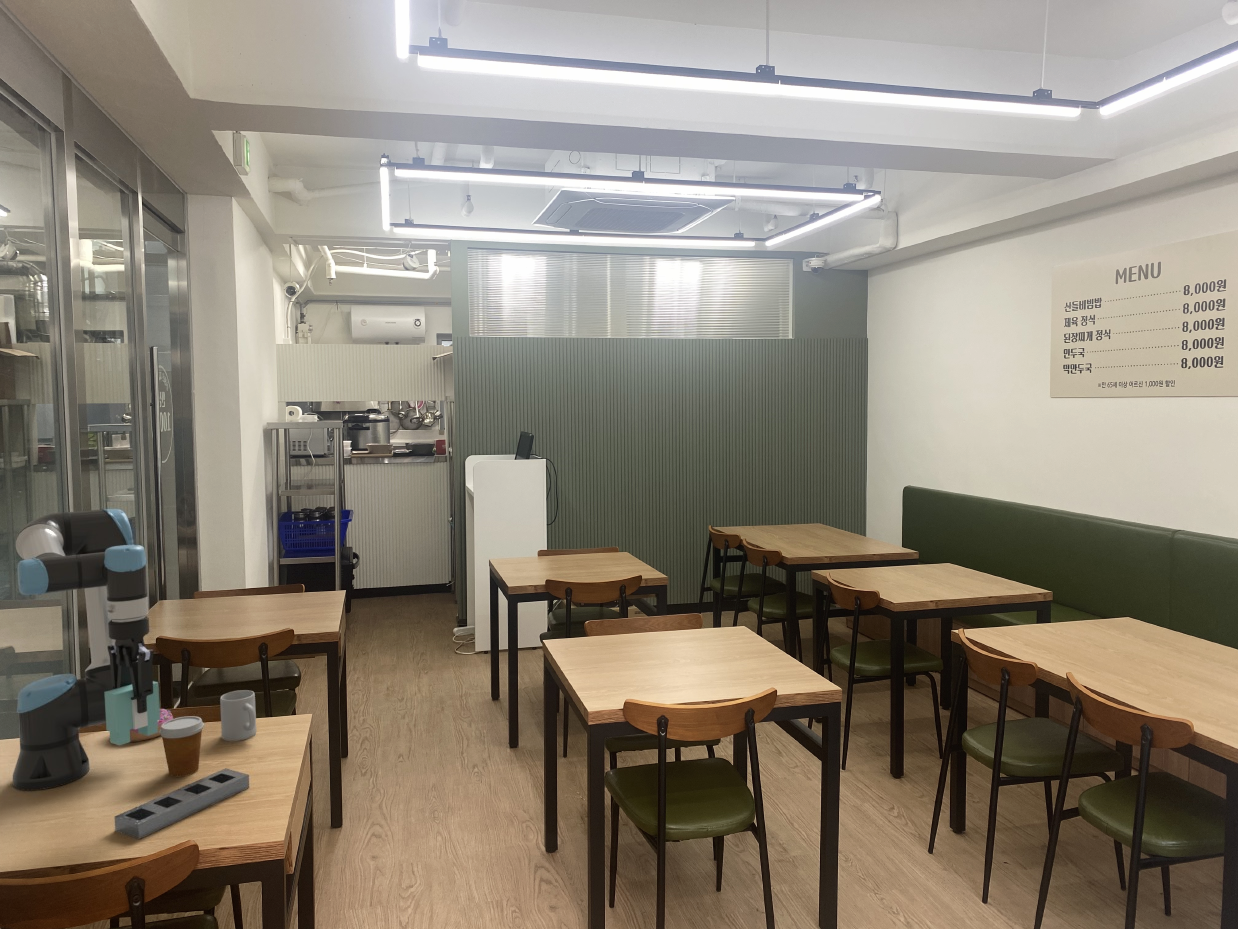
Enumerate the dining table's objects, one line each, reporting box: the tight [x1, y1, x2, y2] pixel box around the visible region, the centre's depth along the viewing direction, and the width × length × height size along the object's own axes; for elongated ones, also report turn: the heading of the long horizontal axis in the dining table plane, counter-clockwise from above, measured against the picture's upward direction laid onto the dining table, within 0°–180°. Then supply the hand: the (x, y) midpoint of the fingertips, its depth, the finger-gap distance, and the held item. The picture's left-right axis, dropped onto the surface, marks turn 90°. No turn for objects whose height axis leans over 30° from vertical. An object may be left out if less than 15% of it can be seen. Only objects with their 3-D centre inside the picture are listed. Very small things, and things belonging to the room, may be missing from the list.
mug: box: [219, 689, 257, 742], centre depth 221 cm, size 12×8×11 cm
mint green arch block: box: [104, 680, 161, 746], centre depth 179 cm, size 4×9×11 cm, turn 150°
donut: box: [129, 708, 174, 743], centre depth 225 cm, size 14×14×5 cm
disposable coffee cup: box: [159, 715, 205, 778], centre depth 200 cm, size 10×10×12 cm
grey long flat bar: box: [114, 767, 250, 840], centre depth 181 cm, size 8×26×3 cm, turn 152°
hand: (134, 725), depth 179 cm, fingers closed on mint green arch block, 4 cm apart
